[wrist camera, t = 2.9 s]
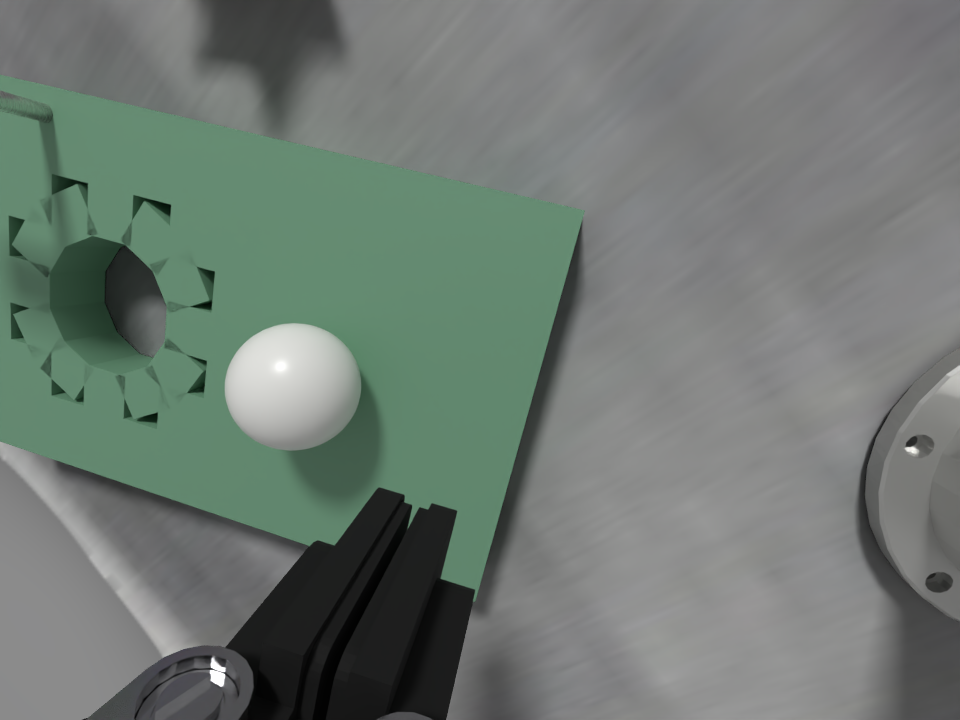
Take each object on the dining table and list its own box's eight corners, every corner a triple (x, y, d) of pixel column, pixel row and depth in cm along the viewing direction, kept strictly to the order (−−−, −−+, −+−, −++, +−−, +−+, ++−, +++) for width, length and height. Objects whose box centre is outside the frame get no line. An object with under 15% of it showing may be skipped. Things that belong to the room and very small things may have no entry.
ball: (389, 332, 18) (334, 356, 14) (369, 437, 19) (313, 490, 15) (282, 303, 18) (197, 317, 14) (269, 407, 19) (187, 449, 15)
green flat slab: (582, 216, 18) (584, 210, 16) (484, 564, 22) (475, 601, 20) (47, 91, 21) (-21, 69, 18) (47, 420, 25) (-8, 438, 22)
